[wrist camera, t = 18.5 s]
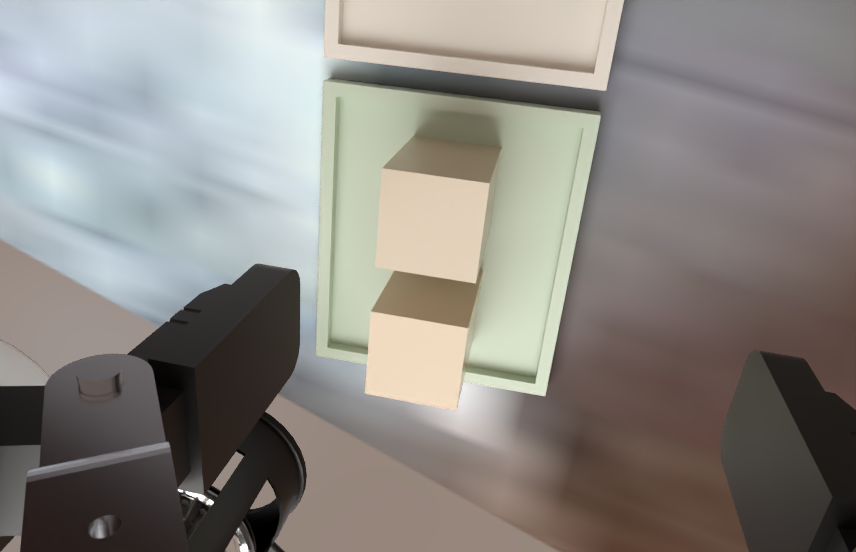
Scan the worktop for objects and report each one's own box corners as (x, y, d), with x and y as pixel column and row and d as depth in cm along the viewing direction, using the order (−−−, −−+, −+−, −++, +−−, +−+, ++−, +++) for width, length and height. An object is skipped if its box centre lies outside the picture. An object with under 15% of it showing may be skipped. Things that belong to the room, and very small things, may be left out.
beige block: (502, 147, 29) (489, 183, 24) (489, 231, 31) (475, 283, 25) (413, 135, 30) (381, 168, 24) (406, 219, 31) (375, 267, 26)
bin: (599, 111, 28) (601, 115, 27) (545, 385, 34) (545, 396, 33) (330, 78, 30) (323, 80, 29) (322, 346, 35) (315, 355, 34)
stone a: (483, 270, 32) (468, 328, 26) (472, 342, 33) (456, 410, 28) (401, 257, 32) (370, 311, 27) (395, 329, 34) (365, 393, 28)
